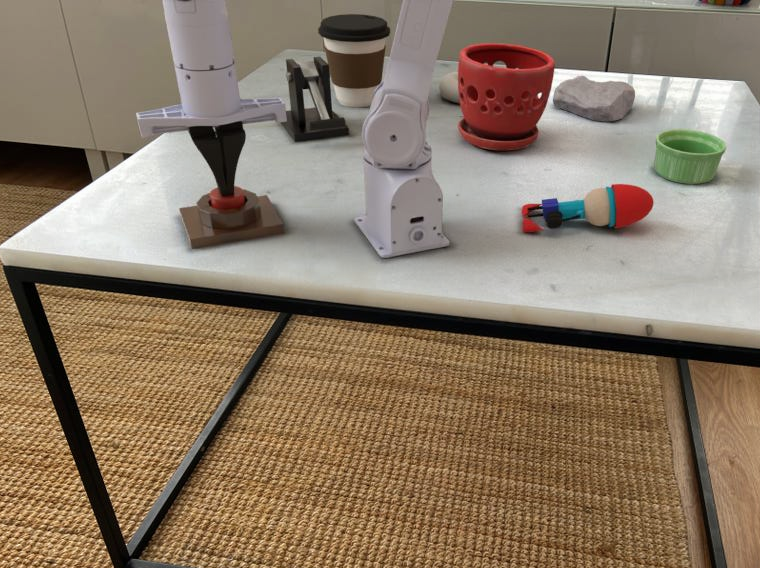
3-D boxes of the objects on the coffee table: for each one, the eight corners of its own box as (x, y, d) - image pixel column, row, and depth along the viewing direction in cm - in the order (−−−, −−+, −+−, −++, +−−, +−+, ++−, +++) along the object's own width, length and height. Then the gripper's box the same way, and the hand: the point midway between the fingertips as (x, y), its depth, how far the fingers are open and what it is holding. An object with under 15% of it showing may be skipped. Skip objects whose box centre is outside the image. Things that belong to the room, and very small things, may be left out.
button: (242, 197, 82) (239, 183, 81) (248, 211, 79) (246, 196, 78) (209, 202, 80) (206, 188, 79) (215, 216, 78) (212, 201, 77)
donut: (433, 105, 116) (494, 109, 115) (433, 83, 114) (495, 87, 113) (445, 86, 124) (503, 91, 123) (445, 66, 122) (504, 70, 120)
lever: (344, 131, 100) (346, 119, 98) (309, 136, 99) (310, 123, 97) (322, 72, 104) (323, 59, 102) (287, 76, 102) (288, 62, 100)
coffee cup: (354, 86, 122) (351, 10, 115) (405, 100, 117) (404, 21, 110) (309, 102, 115) (302, 21, 108) (360, 118, 110) (357, 34, 103)
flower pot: (480, 163, 98) (485, 71, 90) (441, 130, 107) (443, 45, 100) (562, 150, 102) (574, 62, 95) (518, 120, 111) (525, 38, 104)
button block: (268, 204, 86) (264, 180, 84) (284, 233, 80) (281, 208, 78) (181, 217, 82) (175, 193, 80) (192, 249, 77) (186, 224, 75)
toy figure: (524, 248, 82) (659, 234, 80) (521, 207, 79) (660, 191, 78) (522, 223, 88) (646, 209, 87) (518, 184, 86) (647, 169, 84)
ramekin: (638, 162, 100) (644, 130, 97) (696, 157, 101) (704, 127, 99) (669, 189, 93) (677, 156, 90) (731, 183, 95) (740, 151, 92)
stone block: (612, 135, 112) (637, 106, 117) (614, 106, 109) (639, 77, 114) (544, 122, 117) (571, 94, 123) (543, 94, 114) (571, 67, 119)
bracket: (349, 136, 104) (345, 69, 98) (295, 142, 101) (288, 74, 96) (329, 113, 111) (324, 50, 105) (277, 119, 108) (270, 54, 103)
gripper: (268, 46, 76) (282, 169, 84) (122, 58, 71) (152, 187, 79) (285, 64, 71) (298, 193, 79) (128, 78, 66) (160, 214, 74)
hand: (226, 192), depth 79 cm, fingers closed, pressing on button
